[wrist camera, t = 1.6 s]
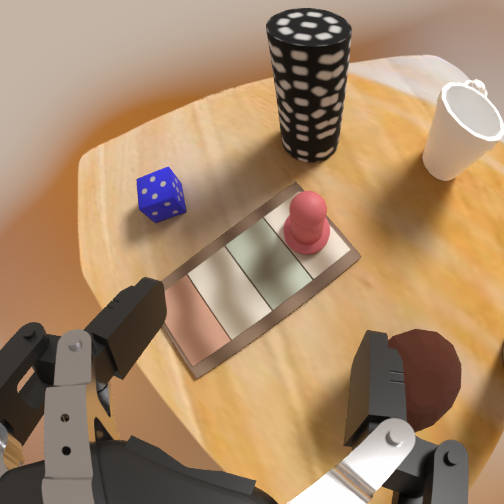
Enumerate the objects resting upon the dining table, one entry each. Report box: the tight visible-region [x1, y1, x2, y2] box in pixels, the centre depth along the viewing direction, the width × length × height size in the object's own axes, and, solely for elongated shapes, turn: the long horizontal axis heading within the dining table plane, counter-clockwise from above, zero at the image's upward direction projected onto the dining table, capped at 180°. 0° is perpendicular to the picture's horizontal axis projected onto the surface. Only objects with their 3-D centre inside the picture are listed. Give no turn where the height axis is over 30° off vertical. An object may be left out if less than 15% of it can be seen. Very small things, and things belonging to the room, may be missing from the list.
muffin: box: [388, 329, 461, 433], centre depth 26 cm, size 12×11×10 cm
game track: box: [161, 182, 362, 379], centre depth 37 cm, size 25×13×1 cm, turn 126°
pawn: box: [284, 191, 330, 255], centre depth 32 cm, size 6×6×9 cm
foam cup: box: [422, 83, 504, 181], centre depth 31 cm, size 10×9×13 cm
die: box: [137, 167, 186, 223], centre depth 39 cm, size 5×5×5 cm
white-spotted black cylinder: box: [266, 8, 352, 162], centre depth 32 cm, size 8×8×20 cm
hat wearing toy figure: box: [465, 80, 487, 97], centre depth 33 cm, size 9×4×12 cm, turn 140°
